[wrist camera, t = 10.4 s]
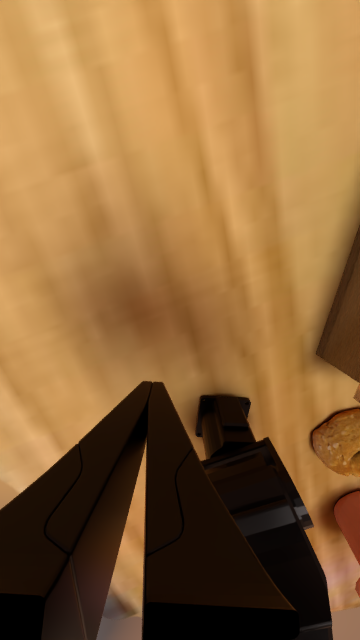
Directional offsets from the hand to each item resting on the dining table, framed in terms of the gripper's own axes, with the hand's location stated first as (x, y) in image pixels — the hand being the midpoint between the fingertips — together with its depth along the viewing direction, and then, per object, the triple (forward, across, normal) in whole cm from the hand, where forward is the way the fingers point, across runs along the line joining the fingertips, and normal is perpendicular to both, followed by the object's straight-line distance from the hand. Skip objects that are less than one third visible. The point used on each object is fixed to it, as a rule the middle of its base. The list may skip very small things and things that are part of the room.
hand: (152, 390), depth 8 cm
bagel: (+13, -26, +16) cm, 34 cm away
